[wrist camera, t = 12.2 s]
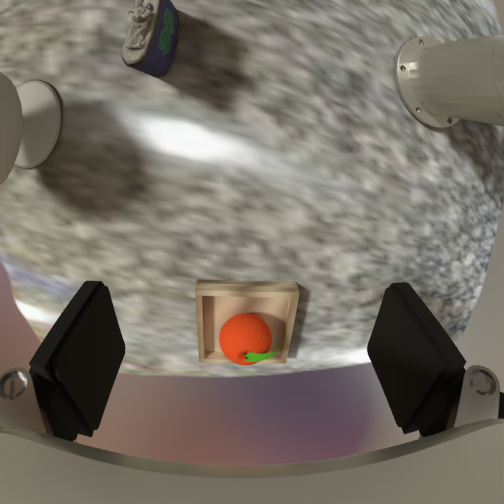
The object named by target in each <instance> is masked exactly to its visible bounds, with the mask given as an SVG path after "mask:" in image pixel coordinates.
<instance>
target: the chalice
mask: <svg viewBox="0 0 504 504" xmlns="http://www.w3.org/2000/svg"><path fill="white" fill-rule="evenodd" d="M60 127H61V107H60V101H59V99H58V96H57V94H56V92H55V91H54V89H53V88H52V87H51V86H50V85H49V84H48V83H46V82H44V81H41V80H30V81H27V82H24V83H23V84H21V85H20V86H18V87H17V88H16V87H15V86H14V84H13V83H12V81H11V80H10V79H9V78H8V77H7V76H5V75H4V74H2V73H1V72H0V186H1V185H2V183H3V182H4V181H5V180H6V179H7V177H8V175H9V174H10V172H11V170H12V169H13V166H14V165H15V166H17V167H19V168H23V169H29V168H34V167H36V166H38V165H40V164H41V163H42V162H43V161H45V160H46V159H47V157H48V156H49V155H50V153H51V152H52V150H53V148H54V146H55V145H56V143H57V139H58V136H59V133H60Z"/></svg>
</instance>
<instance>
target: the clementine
mask: <svg viewBox="0 0 504 504" xmlns="http://www.w3.org/2000/svg"><path fill="white" fill-rule="evenodd" d="M219 342H220V348H221V350H222V352H223V353H224V355H225V356H226V357H227V358H228V359H229V360H231V361H232V362H234V363H236V364H239V365H252V364H255V363H257V362H259V361H262V360H265V359H268V358H270V357H272V356H273V355H275V354H276V353H277V352H278V350H279V349H278V350H276V351H275V352H272V353H268V352H269V350H270V348H271V345H272V334H271V331H270V328H269V326H268V325H267V323H266V322H265V321H264V320H263V319H262V318H260V317H259V316H256V315H254V314H249V313H242V314H238V315H235V316H233V317H231V318H229V319H228V320H227V321H226V322H225V323H224V325H223V326H222V328H221V331H220V335H219ZM280 346H281V345H280ZM279 348H280V347H279Z"/></svg>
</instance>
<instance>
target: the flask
mask: <svg viewBox="0 0 504 504" xmlns="http://www.w3.org/2000/svg"><path fill="white" fill-rule="evenodd" d="M130 12H133V16H132V21H131V25H130V29H129V33H128V36H127V38H126V40H125V43H124V45H123V48H122V52H121V55H122V59H123V62H124V63H125V64H126V65H127V66H129V67H132V68H134V69H137V70H139V71H142V72H144V73H146V74H149V75H151V76H153V77H163V76H165V75H166V74H167V73H168V72H169V69H170V68H171V66H172V63H173V59H174V57H175V52H176V49H177V42H178V41H177V37H178V25H179V22H178V20H179V19H178V12H177V10H176V8H175V7H174V5H173V4H172V2H171V1H170V0H135V2H134V6H132V7H130V9H129V11H128V12H127V15H129V14H130Z"/></svg>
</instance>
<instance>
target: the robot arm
mask: <svg viewBox="0 0 504 504" xmlns="http://www.w3.org/2000/svg"><path fill="white" fill-rule="evenodd" d="M400 69H401V70H400ZM394 76H395V82H396V86H397V90H398V92H399V95H400V97H401V99H402V101H403V103H404V104H405V106H406V107H407V109H408V110H409V111H410V113H411V114H413V115H414V116H415V117H416V118H417V119H418V120H420V121H421V122H422V123H424V124H427V125H429V126H432V127H438V128H446V127H450V126H452V125H454V124H456V123H457V122H458V121H459V120H460V119H464V120H471V121H477V122H483V123H488V124H493V125H499V126H503V127H504V34H500V35H491V36H483V37H476V38H470V39H464V40H458V41H453V42H448V43H442V42H440V41H438V40H436V39H433V38H430V37H416V38H413V39H410V40H408V41H407V42H405V43H404V44H403V45H402V46H401V47H400V49H399V51H398V53H397V55H396V58H395V64H394ZM367 352H368V355H369V358H370V360H371V362H372V365H373V367H374V369H375V372H376V374H377V376H378V379H379V381H380V383H381V386H382V388H383V391H384V393H385V396H386V398H387V401H388V403H389V406H390V408H391V411H392V414H393V416H394V419H395V421H396V424H397V426H399V427H401V428H402V430H403V433H404V434H407V433H411V432H414V431H417V430H419V432H420V437H419V439H418V440H415V441H411V442H407V443H404V444H400V445H397V446H393V447H389V448H385V449H381V450H376V451H372V452H367V453H362V454H357V455H352V456H346V457H340V458H334V459H327V460H319V461H311V462H301V463H290V464H275V465H208V464H192V463H181V462H172V461H163V460H156V459H148V458H143V457H136V456H131V455H126V454H121V453H116V452H111V451H107V450H103V449H98V448H94V447H90V446H86V445H82V444H78V443H77V441H76V438H77V435H78V434H81V435H85V436H88V437H92V435H93V431H94V430H97V429H98V428H99V425H100V422H101V419H102V416H103V413H104V410H105V406H106V404H107V401H108V398H109V395H110V392H111V389H112V387H113V384H114V381H115V379H116V376H117V373H118V371H119V368H120V365H121V363H122V360H123V357H124V355H125V343H124V340H123V337H122V334H121V331H120V328H119V324H118V321H117V317H116V314H115V311H114V307H113V303H112V300H111V296H110V292H109V289H108V287H107V286H104V284H103V282H101V281H85V282H84V284H83V285H82V286H81V288H80V289H79V290H78V292H77V293H76V294H75V296H74V297H73V298H72V300H71V301H70V302H69V304H68V305H67V307H66V308H65V309H64V311H63V312H62V314H61V315H60V317H59V318H58V319H57V321H56V322H55V324H54V325H53V327H52V328H51V330H50V331H49V333H48V334H47V336H46V337H45V339H44V340H43V342H42V343H41V345H40V347H39V348H38V350H37V351H36V353H35V355H34V356H33V358H32V359H31V361H30V363H29V364H30V366H31V369H30V370H29V372H28V371H27V370H26V369H24V368H22V367H13V368H10V369H8V370H6V371H4V372H3V373H2V374H1V375H0V504H504V393H502V392H500V385H499V381H498V379H497V377H496V375H495V374H494V373H493V372H492V371H491V370H489V369H488V368H486V367H484V366H480V365H474V366H471V367H469V368H468V369H467V370H465V369H464V365H465V363H466V360H465V359H464V357H463V356H462V354H461V353H460V352H459V350H458V349H457V347H456V346H455V344H454V343H453V341H452V340H451V338H450V337H449V336H448V334H447V333H446V331H445V330H444V329H443V327H442V326H441V325H440V323H439V322H438V321H437V319H436V318H435V317H434V315H433V314H432V313H431V311H430V310H429V309H428V307H427V306H426V305H425V303H424V302H423V301H422V300H421V298H420V297H419V296H418V294H417V293H416V292H415V291H414V289H413V288H412V287H411V286H410V284H408V283H406V282H405V283H392V284H391V285H390V287H388V288H387V289H386V290H385V293H384V297H383V300H382V303H381V307H380V310H379V313H378V316H377V319H376V322H375V325H374V328H373V331H372V334H371V337H370V340H369V342H368V346H367Z"/></svg>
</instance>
